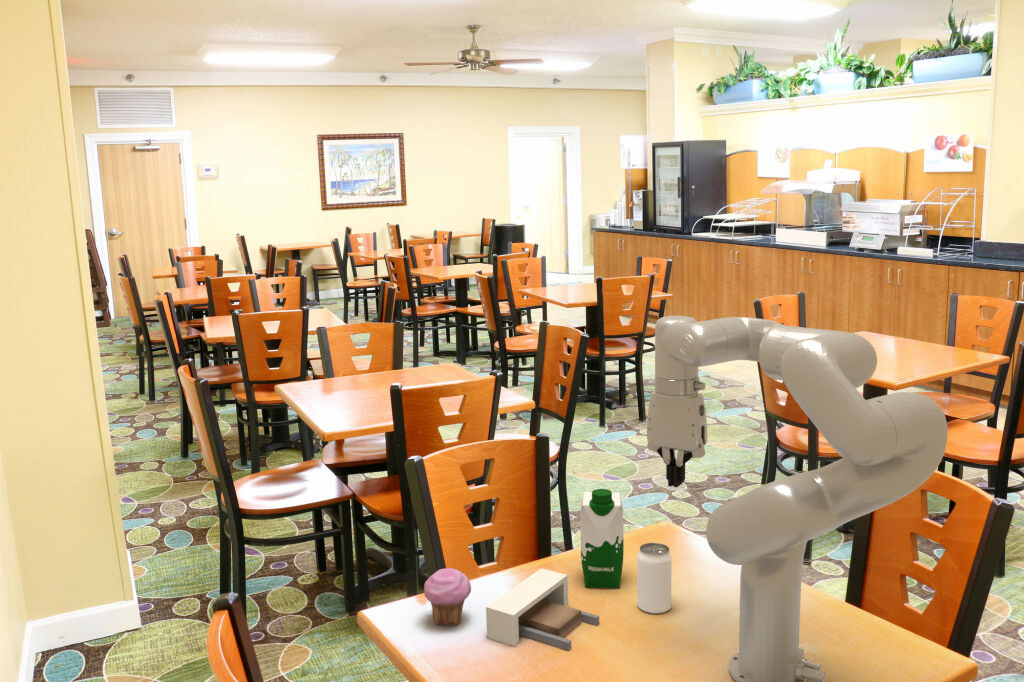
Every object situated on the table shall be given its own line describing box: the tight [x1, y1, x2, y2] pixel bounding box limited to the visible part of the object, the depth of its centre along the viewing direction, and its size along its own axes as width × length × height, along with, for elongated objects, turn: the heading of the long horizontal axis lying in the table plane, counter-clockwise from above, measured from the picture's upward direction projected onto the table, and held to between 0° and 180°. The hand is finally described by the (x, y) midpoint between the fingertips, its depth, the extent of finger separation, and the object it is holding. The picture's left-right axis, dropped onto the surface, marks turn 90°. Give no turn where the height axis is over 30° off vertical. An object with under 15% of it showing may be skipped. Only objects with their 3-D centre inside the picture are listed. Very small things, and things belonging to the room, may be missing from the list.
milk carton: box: [580, 488, 625, 589], centre depth 178 cm, size 9×9×20 cm
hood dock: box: [485, 567, 600, 652], centre depth 161 cm, size 15×19×6 cm
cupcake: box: [423, 567, 472, 626], centre depth 164 cm, size 9×9×10 cm
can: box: [636, 542, 673, 615], centre depth 167 cm, size 6×6×12 cm
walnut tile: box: [518, 599, 582, 639], centre depth 162 cm, size 11×8×3 cm
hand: (675, 484), depth 157 cm, fingers closed
